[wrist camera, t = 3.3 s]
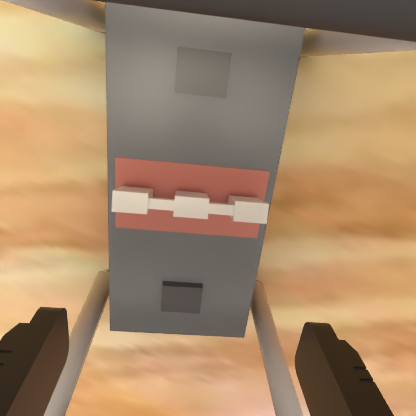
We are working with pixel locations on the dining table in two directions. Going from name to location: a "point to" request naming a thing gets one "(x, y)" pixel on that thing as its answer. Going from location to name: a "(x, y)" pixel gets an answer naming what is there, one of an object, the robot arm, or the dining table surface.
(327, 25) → the dark grey rounded rod
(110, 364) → the dining table surface
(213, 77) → the pdu
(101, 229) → the dining table surface
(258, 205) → the breaker paddles
